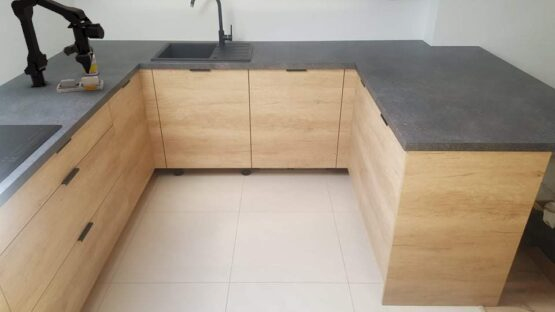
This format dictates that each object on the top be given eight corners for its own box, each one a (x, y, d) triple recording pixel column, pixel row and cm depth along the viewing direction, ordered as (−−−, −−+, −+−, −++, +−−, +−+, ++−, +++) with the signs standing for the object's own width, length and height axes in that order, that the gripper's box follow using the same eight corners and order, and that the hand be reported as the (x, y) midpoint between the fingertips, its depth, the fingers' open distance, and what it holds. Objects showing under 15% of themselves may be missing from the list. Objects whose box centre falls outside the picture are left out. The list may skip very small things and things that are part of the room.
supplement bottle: (83, 73, 216) (77, 49, 210) (95, 71, 220) (91, 47, 214) (87, 76, 212) (82, 52, 206) (100, 74, 216) (95, 50, 210)
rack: (59, 87, 197) (58, 82, 195) (103, 83, 202) (102, 79, 201) (57, 93, 190) (55, 88, 189) (102, 89, 195) (101, 84, 194)
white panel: (84, 87, 197) (82, 77, 195) (99, 86, 199) (97, 76, 197) (83, 88, 195) (81, 78, 193) (99, 87, 197) (97, 77, 195)
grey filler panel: (63, 89, 195) (61, 80, 193) (77, 88, 197) (75, 78, 194) (62, 90, 193) (60, 81, 191) (76, 89, 194) (74, 80, 192)
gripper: (64, 35, 192) (72, 67, 199) (59, 43, 176) (67, 78, 184) (90, 33, 195) (96, 65, 202) (86, 42, 179) (94, 76, 187)
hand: (88, 71), depth 194 cm, fingers open, 8 cm apart
